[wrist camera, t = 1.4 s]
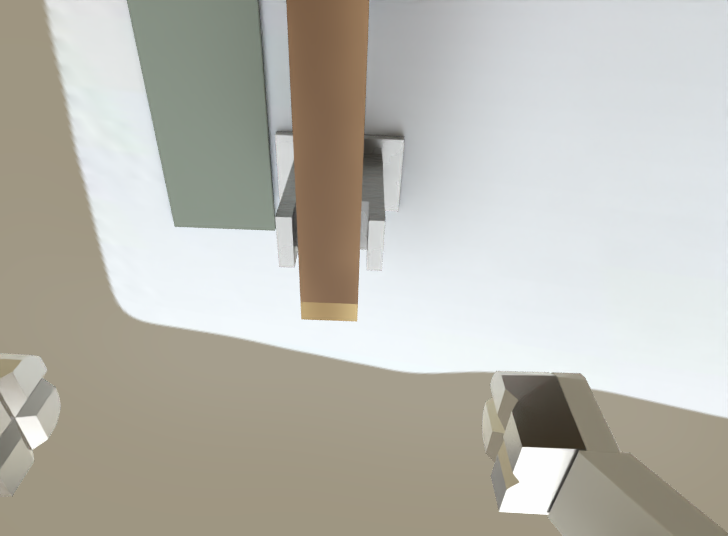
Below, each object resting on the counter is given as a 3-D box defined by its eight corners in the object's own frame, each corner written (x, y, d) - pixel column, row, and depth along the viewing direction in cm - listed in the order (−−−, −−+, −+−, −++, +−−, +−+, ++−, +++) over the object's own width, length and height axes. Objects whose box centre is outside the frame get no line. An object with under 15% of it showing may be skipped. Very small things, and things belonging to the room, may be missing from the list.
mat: (243, -193, 22) (241, -194, 22) (275, 227, 35) (274, 230, 35) (88, -200, 22) (84, -202, 22) (176, 223, 35) (174, 226, 35)
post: (403, 136, 31) (413, 204, 24) (397, 207, 34) (404, 286, 27) (276, 131, 31) (246, 197, 24) (281, 202, 34) (256, 281, 27)
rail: (377, -210, 17) (378, -232, 14) (358, 287, 29) (357, 321, 27) (289, -214, 17) (275, -236, 14) (307, 285, 29) (301, 319, 27)
